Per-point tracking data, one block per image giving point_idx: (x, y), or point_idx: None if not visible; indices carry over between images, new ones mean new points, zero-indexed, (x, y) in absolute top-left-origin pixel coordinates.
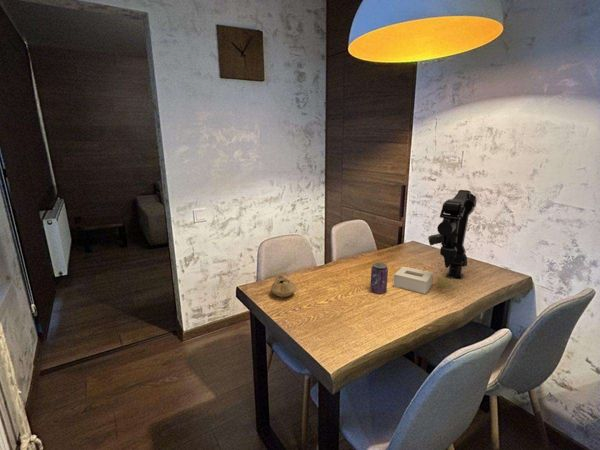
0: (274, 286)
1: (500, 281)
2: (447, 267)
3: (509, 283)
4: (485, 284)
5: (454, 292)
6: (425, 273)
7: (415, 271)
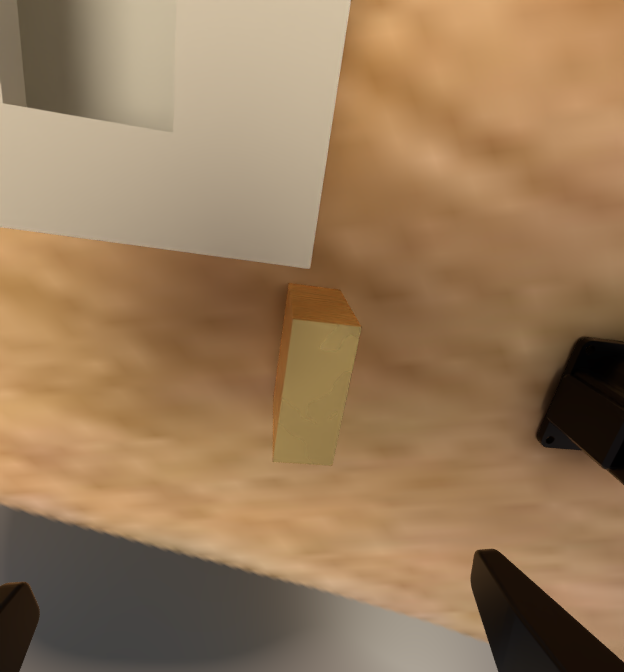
0: None
1: None
2: (12, 617)
3: None
4: None
5: (231, 424)
6: (220, 147)
7: None
